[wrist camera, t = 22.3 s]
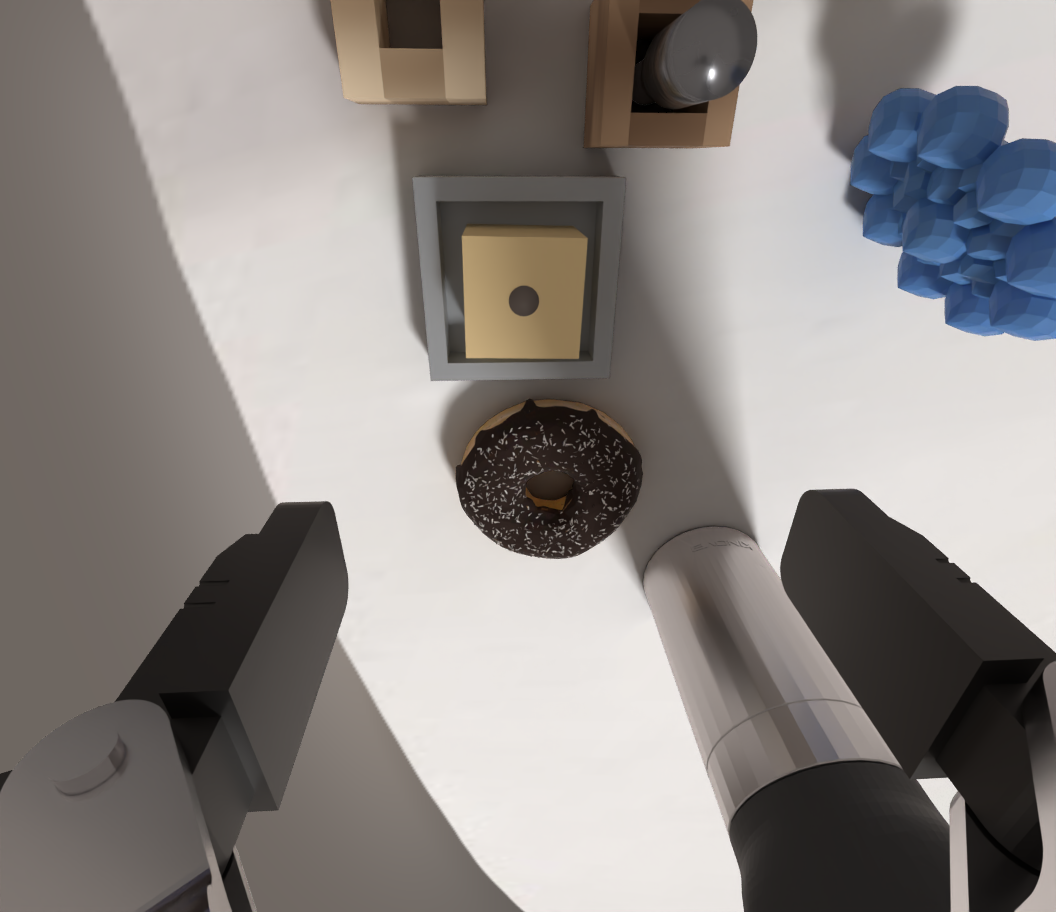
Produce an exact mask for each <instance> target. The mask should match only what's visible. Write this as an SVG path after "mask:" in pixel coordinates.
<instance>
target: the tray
mask: <svg viewBox="0 0 1056 912" xmlns="http://www.w3.org/2000/svg"><path fill="white" fill-rule="evenodd" d="M412 181H413V192H414V203H415V213H416V224H417V235H418V246H419V257H420V268H421V279H422V290H423V301H424V312H425V323H426V334H427V345H428V356H429V366H430V377H431V381H458V380H521V379H584V378H610V367H611V355H612V343H613V331H614V319H615V307H616V295H617V283H618V271H619V259H620V247H621V235H622V223H623V211H624V199H625V187H626V178H624V177H617V176H416V177H412ZM467 224H506V225H554V226H574V227H575V228H576V229H577V230H579V231H580V232H581V233H582V234H583V235H584V236H586V237H587V238H588V242H587V255H586V269H585V282H584V296H583V309H582V323H581V336H580V350H579V359H528V358H466V342H465V313H464V283H463V254H462V235H463V232H464V230H465V228H466V226H467Z"/></svg>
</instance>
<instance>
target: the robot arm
mask: <svg viewBox="0 0 1056 912" xmlns="http://www.w3.org/2000/svg"><path fill="white" fill-rule="evenodd" d="M948 559H949V558H948V557H946V556H945V555H944V554H943V553H942V552H941V551H940V550H939V549H937V548H936V547H935V546H934V545H933V544H932V543H931V542H929V541H928V540H927V539H926V538H925V537H924V536H923V535H921V534H919V533H917V532H915V531H914V530H912V529H910V528H908V527H906V526H905V525H903V524H901V523H899V522H897V521H896V520H894V519H892V518H890V517H888V516H887V515H886V514H885V513H884V512H883V511H882V510H881V509H880V508H879V507H878V506H876V505H875V504H874V503H873V502H872V501H871V500H870V499H869V498H868V497H867V496H865V495H864V494H863V493H862V492H861V491H859V490H857V489H825V490H808V491H806V492H805V493H804V494H803V495H802V496H801V498H800V500H799V503H798V506H797V510H796V513H795V516H794V519H793V523H792V526H791V529H790V532H789V536H788V539H787V542H786V546H785V549H784V552H783V555H782V559H781V565H780V572H781V579H780V577H779V576H778V575H777V573H776V572H775V570H774V569H773V567H772V566H771V564H770V563H769V561H768V560H767V559H766V557H765V556H764V554H763V553H762V551H761V550H760V548H759V547H758V545H757V544H756V542H755V541H754V540H753V539H751V538H750V537H749V536H748V535H746V534H744V533H742V532H740V531H738V530H735V529H731V528H727V527H714V526H713V527H704V528H698V529H695V530H691V531H688V532H685V533H683V534H681V535H679V536H676V537H674V538H673V539H671V540H670V541H669V542H667V543H666V544H664V545H663V546H662V547H661V548H660V549H659V550H658V551H657V552H656V553H655V554H654V555H653V557H652V558H651V560H650V561H649V563H648V565H647V567H646V570H645V572H644V580H643V584H644V591H645V594H646V597H647V600H648V603H649V606H650V609H651V611H652V614H653V617H654V620H655V623H656V626H657V629H658V632H659V635H660V638H661V641H662V644H663V647H664V650H665V653H666V655H667V658H668V661H669V664H670V667H671V670H672V673H673V676H674V679H675V682H676V685H677V687H678V690H679V693H680V696H681V699H682V702H683V705H684V708H685V711H686V714H687V716H688V719H689V722H690V725H691V728H692V731H693V734H694V737H695V740H696V743H697V745H698V748H699V751H700V754H701V757H702V760H703V763H704V766H705V769H706V772H707V775H708V777H709V779H710V782H711V785H712V788H713V791H714V794H715V797H716V800H717V803H718V806H719V809H720V811H721V814H722V817H723V820H724V823H725V826H726V829H727V832H728V835H729V838H730V841H731V844H732V847H733V850H734V853H735V856H736V859H737V862H738V865H739V869H740V873H741V880H742V899H743V906H744V912H1056V653H1055V652H1054V651H1053V650H1052V649H1051V648H1050V647H1048V646H1047V645H1046V644H1045V643H1044V642H1043V641H1042V640H1041V639H1039V638H1038V637H1037V636H1036V635H1035V634H1034V633H1033V632H1031V631H1030V630H1029V629H1028V628H1027V627H1026V626H1025V625H1024V624H1022V623H1021V622H1020V621H1019V620H1018V619H1017V618H1016V617H1014V616H1013V615H1012V614H1011V613H1010V612H1009V611H1008V610H1007V609H1005V608H1004V607H1003V606H1002V605H1001V604H1000V603H999V602H997V601H996V600H995V599H994V598H993V597H992V596H991V595H990V594H988V593H987V592H986V591H985V590H984V589H983V588H982V587H980V586H979V585H978V584H977V583H971V581H970V577H969V576H968V575H967V574H966V573H965V572H963V571H962V570H961V569H960V568H959V567H958V566H957V565H956V564H954V563H949V561H948ZM347 599H348V573H347V568H346V563H345V559H344V554H343V549H342V545H341V540H340V535H339V531H338V526H337V521H336V516H335V512H334V509H333V507H332V505H331V503H330V502H328V501H323V502H285V503H280V504H278V505H277V507H276V508H275V509H274V511H273V513H272V514H271V516H270V517H269V519H268V521H267V522H266V524H265V525H264V527H263V528H262V530H261V532H260V533H259V534H246V535H244V536H243V537H241V538H240V539H239V540H238V541H236V542H235V543H234V544H232V545H231V546H230V547H228V548H227V549H226V550H225V551H223V552H222V553H221V554H219V555H218V556H217V557H216V559H215V560H214V561H213V563H212V564H211V566H210V567H209V569H208V570H207V571H206V573H205V574H204V576H203V577H202V579H201V580H200V585H199V587H195V589H194V590H193V591H192V593H191V594H190V596H189V597H188V598H187V600H186V601H185V603H184V609H180V610H179V611H178V613H177V614H176V615H175V617H174V618H173V620H172V621H171V623H170V624H169V625H168V627H167V628H166V630H165V631H164V633H163V634H162V636H161V637H160V639H159V640H158V641H157V643H156V644H155V645H154V647H153V648H152V650H151V651H150V653H149V654H148V655H147V657H146V658H145V660H144V661H143V662H142V664H141V665H140V667H139V668H138V670H137V671H136V673H135V674H134V675H133V677H132V678H131V680H130V681H129V682H128V684H127V685H126V687H125V688H124V690H123V691H122V693H121V694H120V695H119V697H118V698H117V699H116V701H115V702H113V703H108V704H105V705H102V706H98V707H96V708H93V709H91V710H89V711H86V712H84V713H82V714H80V715H78V716H76V717H74V718H73V719H71V720H69V721H67V722H66V723H64V724H62V725H61V726H59V727H58V728H56V729H55V730H53V731H52V732H51V733H49V734H48V735H47V736H45V737H44V738H43V739H42V740H40V741H39V742H38V743H37V744H36V745H35V746H34V747H33V748H32V749H30V750H29V751H28V753H27V754H26V755H25V756H24V757H23V758H22V759H21V760H20V761H19V762H18V764H17V765H16V766H15V768H14V769H13V770H11V771H8V772H4V773H1V774H0V912H257V910H256V907H255V904H254V901H253V898H252V895H251V892H250V888H249V885H248V882H247V879H246V876H245V873H244V870H243V867H242V864H241V861H240V858H239V854H238V851H237V849H236V847H235V843H236V840H237V838H238V835H239V832H240V830H241V827H242V825H243V822H244V819H245V817H246V814H247V812H255V811H274V810H279V807H280V804H281V801H282V798H283V795H284V792H285V789H286V786H287V783H288V780H289V777H290V774H291V771H292V768H293V765H294V762H295V759H296V756H297V753H298V750H299V747H300V744H301V741H302V738H303V735H304V732H305V729H306V726H307V723H308V720H309V717H310V714H311V711H312V708H313V705H314V702H315V699H316V696H317V693H318V690H319V687H320V684H321V681H322V678H323V675H324V672H325V669H326V666H327V663H328V660H329V657H330V654H331V651H332V648H333V645H334V642H335V639H336V636H337V633H338V630H339V627H340V624H341V621H342V618H343V615H344V612H345V609H346V605H347ZM947 777H948V778H949V779H950V781H951V782H952V783H953V785H954V786H955V788H956V789H957V790H958V792H957V793H956V794H955V796H954V797H953V799H952V801H951V803H950V811H949V815H950V826H949V824H948V823H947V822H946V820H945V819H944V818H943V817H942V815H941V814H940V813H939V811H938V810H937V808H936V807H935V806H934V804H933V803H932V801H931V800H930V799H929V797H928V796H927V794H926V793H925V791H924V790H923V788H922V787H921V785H920V784H919V782H918V781H917V780H916V779H928V778H947Z"/></svg>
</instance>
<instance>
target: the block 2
mask: <svg viewBox="0 0 1056 912" xmlns="http://www.w3.org/2000/svg"><path fill="white" fill-rule="evenodd" d="M699 1H701V0H594V1H593V2H592V4H591V6H590V21H589V42H588V63H587V85H586V106H585V127H584V148H707V147H725V146H730V140H731V134H732V128H733V122H734V116H735V109H736V103H737V97H738V91H739V85H740V84H739V85H738V86H737V87H736V88H735V89H734V90H733V91H732V92H730V93H729V94H727V95H725V96H723V97H721V98H718V99H714V100H711V101H707V102H703V103H699V104H696V105H692V106H688V107H684V108H680V109H673V113H631V104H632V92H633V80H634V68H635V56H636V44H637V39H645V40H653V39H654V37H655V36H656V35H657V34H658V33H659V32H660V31H661V30H663V29H664V28H665V27H666V26H668V25H669V24H670V23H672V22H673V21H674V20H676V19H677V18H678V17H680V16H681V15H682V14H683V13H685V12H686V11H687V10H689V9H690V8H691V7H693V6H694V5H695V4H697V3H698V2H699ZM741 1H742V2H744V3H745V5H746V6H747V7H748V8H749V10H750V11H752V5H753V0H741Z"/></svg>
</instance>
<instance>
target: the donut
mask: <svg viewBox="0 0 1056 912" xmlns="http://www.w3.org/2000/svg"><path fill="white" fill-rule="evenodd" d="M641 464H642V459H641V456H640V454H639V452H638V450H637V449H636V448H635V446H634V444H633V441H632V440H631V439H630V437H629V436H628V435H627V433H626V432H625V431H624V429H623V428H622V427H621V426H620V425H619V424H618V423H616V422H615V421H614V420H613V419H611V418H610V417H609V416H607V415H606V414H605V413H603V412H602V411H600V410H597V409H595V408H592V407H590V406H587V405H585V404H583V403H580V402H571V401H562V400H553V399H545V400H536V401H533V400H532V399H528V400H526V402H523V403H520V404H518V405H515V406H513V407H510V408H508V409H506V410H504V411H502V412H500V413H499V414H497V415H495V416H494V417H492V418H491V419H489V420H488V421H487V422H486V423H485V424H484V425H483V426H482V427H480V428H479V429H478V430H477V431H476V433H475V434H474V436H473V437H472V439H471V440H470V442H469V443H468V445H467V447H466V450H465V453H464V456H463V459H462V462H461V465H458V466H457V467H456V485H457V490H458V493H459V498H460V502H461V505H462V508H463V510H464V511H465V513H466V514H467V516H468V517H469V518H470V519H471V520H472V521H473V522H474V525H476V526H477V527H478V528H479V529H480V530H481V531H482V533H484V534H485V535H486V536H487V537H488V538H489V539H491V540H492V541H493V542H495V543H496V544H498V545H500V546H502V547H503V548H506V549H508V550H509V551H513V552H516V553H519V554H524V555H528V556H530V557H531V556H535V557H538V558H539V557H542V558H547V559H552V558H553V559H562V558H570V557H574V556H578V555H580V554H582V553H584V552H586V551H587V550H589V549H591V548H592V547H594V546H596V545H597V544H599V543H600V542H601V541H604V540H605V538H607V537H608V536H609V535H611V534H612V533H613V532H614V531H616V529H617V528H618V527H619V525H620V524H621V523H622V522H623V520H624V519H625V517H627V514H628V513H629V512H630V510H631V509H632V507H633V506H634V504H635V503H636V501H637V497H638V494H639V490H640V487H641V482H642V475H643V472H642V467H641ZM552 470H555V471H560V472H564V473H566V474H568V475H569V476H571V477H572V478H573V479H574V483H573V489H572V490H569V492H568V494H567V495H566V496H565V497H562V498H560V499H557V500H543V499H539V498H536V497H534V496H532V495H531V494H530V493H529V491H528V489H527V487H526V482H527V481H528V480H529V479H531V478H532V477H533V476H535V475H537V474H539V473H541V472H542V473H543V472H547V471H552Z"/></svg>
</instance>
